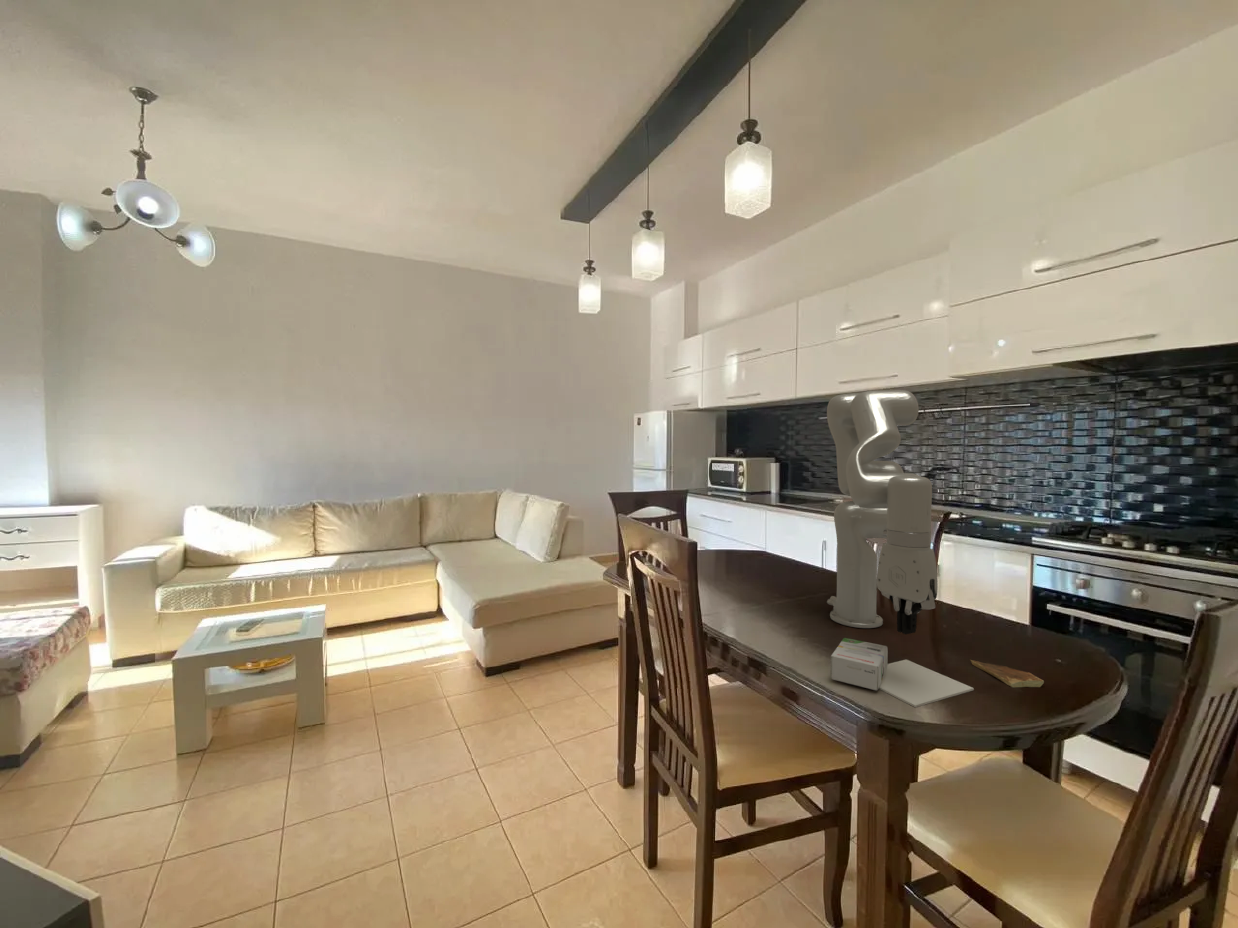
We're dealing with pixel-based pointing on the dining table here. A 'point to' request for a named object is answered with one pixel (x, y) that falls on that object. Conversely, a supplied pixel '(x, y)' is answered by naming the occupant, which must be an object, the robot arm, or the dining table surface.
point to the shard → (1009, 675)
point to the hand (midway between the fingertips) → (906, 631)
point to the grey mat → (919, 684)
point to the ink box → (859, 663)
